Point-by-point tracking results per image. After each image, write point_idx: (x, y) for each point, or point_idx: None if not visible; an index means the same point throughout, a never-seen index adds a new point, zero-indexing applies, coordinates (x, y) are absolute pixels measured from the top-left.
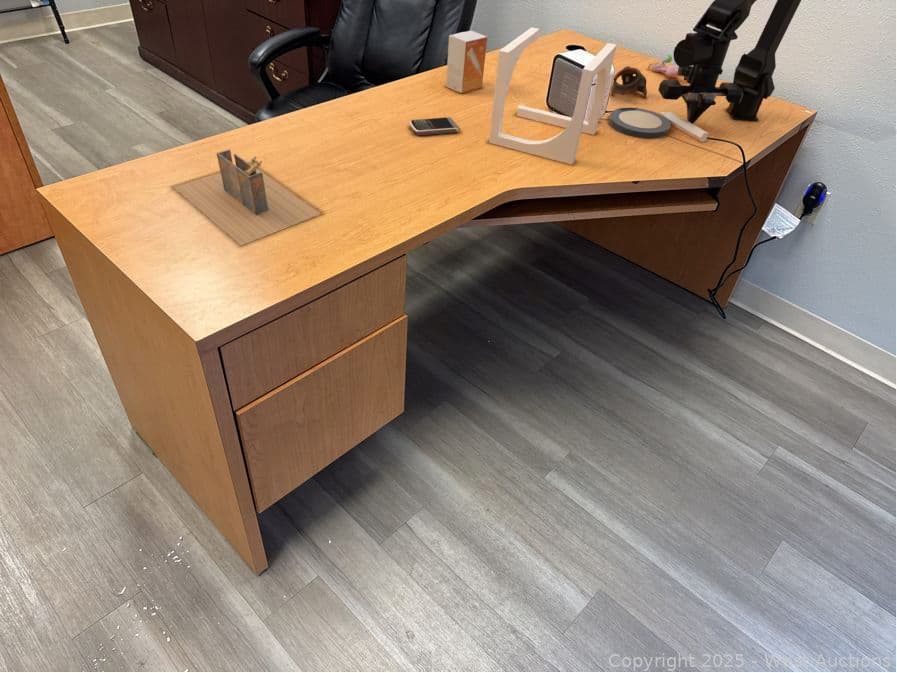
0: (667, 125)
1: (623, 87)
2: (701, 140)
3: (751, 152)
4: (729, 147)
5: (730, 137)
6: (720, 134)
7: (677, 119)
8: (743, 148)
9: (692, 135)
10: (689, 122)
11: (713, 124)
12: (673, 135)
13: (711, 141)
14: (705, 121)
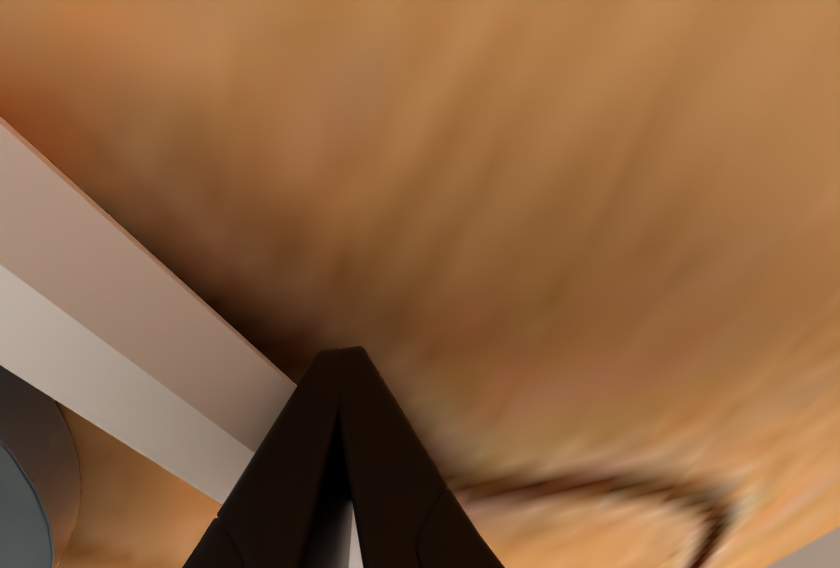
0: (6, 550)
1: None
2: None
3: (755, 562)
4: (630, 554)
5: (762, 411)
6: (695, 381)
7: (118, 430)
8: (736, 536)
9: None
10: None
11: (795, 111)
12: (149, 531)
13: (520, 521)
14: (729, 5)
